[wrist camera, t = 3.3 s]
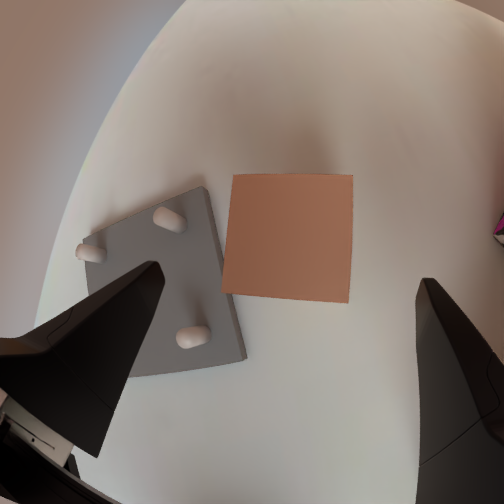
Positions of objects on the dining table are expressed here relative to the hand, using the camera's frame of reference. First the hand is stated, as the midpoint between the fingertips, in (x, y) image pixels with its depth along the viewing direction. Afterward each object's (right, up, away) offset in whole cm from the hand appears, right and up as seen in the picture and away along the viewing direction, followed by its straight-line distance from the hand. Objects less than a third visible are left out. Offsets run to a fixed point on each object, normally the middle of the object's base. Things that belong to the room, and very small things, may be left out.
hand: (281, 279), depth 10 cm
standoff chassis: (-8, -2, +12) cm, 15 cm away
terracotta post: (+3, 0, +9) cm, 10 cm away
